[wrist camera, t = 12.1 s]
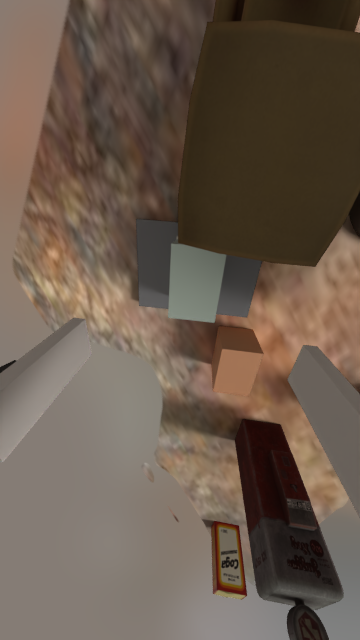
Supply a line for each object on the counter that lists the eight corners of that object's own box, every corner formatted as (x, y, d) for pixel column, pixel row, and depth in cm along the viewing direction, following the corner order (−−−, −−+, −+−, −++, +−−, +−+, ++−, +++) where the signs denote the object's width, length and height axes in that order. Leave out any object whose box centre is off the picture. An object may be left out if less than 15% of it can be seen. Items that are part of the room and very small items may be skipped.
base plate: (139, 219, 27) (136, 219, 26) (267, 229, 26) (270, 229, 25) (141, 302, 34) (139, 305, 32) (245, 313, 33) (247, 317, 31)
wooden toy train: (262, 244, 27) (330, 273, 13) (183, 230, 28) (162, 243, 13) (337, 18, 18) (944, -888, 3) (216, 1, 18) (275, -905, 4)
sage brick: (178, 237, 27) (171, 243, 20) (221, 241, 26) (227, 248, 20) (174, 298, 31) (168, 317, 25) (212, 301, 31) (214, 322, 24)
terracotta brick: (218, 325, 34) (222, 348, 28) (252, 329, 34) (263, 353, 28) (211, 364, 39) (212, 391, 32) (241, 367, 38) (248, 396, 32)
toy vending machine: (284, 418, 43) (392, 679, 19) (269, 446, 49) (338, 678, 24) (245, 412, 44) (298, 659, 19) (234, 440, 49) (266, 662, 25)
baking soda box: (238, 525, 74) (247, 598, 60) (234, 531, 77) (241, 601, 63) (214, 521, 74) (217, 591, 60) (211, 527, 77) (213, 595, 63)
